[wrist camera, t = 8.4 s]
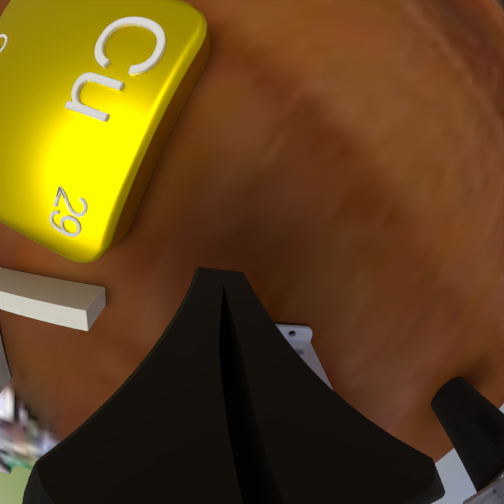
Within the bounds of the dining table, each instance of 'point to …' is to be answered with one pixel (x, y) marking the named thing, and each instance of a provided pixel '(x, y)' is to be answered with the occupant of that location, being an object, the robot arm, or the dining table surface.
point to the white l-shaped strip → (51, 299)
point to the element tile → (89, 112)
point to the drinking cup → (472, 430)
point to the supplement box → (3, 368)
